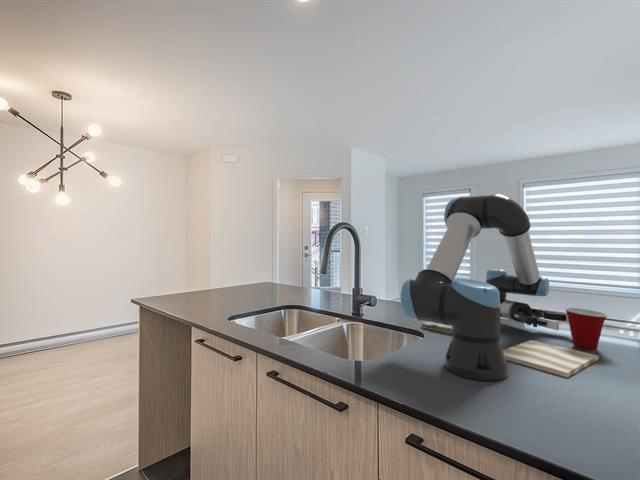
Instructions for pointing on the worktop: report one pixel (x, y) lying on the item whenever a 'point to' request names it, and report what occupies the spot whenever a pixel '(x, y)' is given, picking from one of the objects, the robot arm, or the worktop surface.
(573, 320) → the plastic cup
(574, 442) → the worktop surface
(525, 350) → the cutting board
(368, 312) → the worktop surface
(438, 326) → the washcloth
